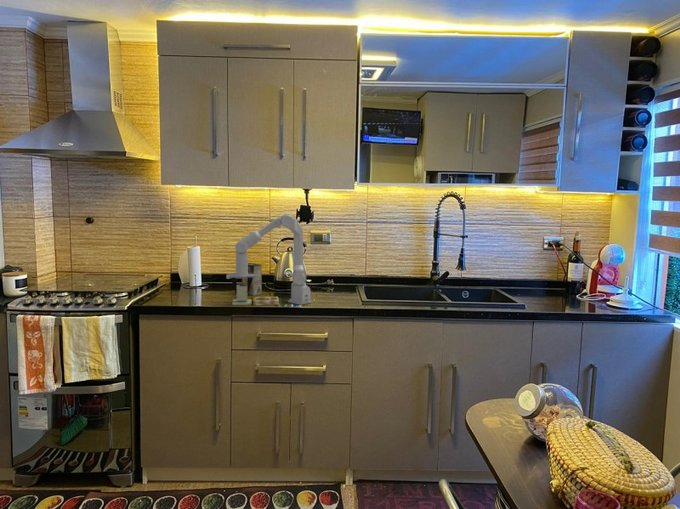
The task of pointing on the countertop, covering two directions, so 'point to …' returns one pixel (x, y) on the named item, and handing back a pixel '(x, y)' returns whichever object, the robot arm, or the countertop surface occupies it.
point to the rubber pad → (241, 302)
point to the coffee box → (254, 279)
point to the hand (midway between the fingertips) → (242, 293)
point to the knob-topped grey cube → (242, 292)
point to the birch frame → (266, 301)
